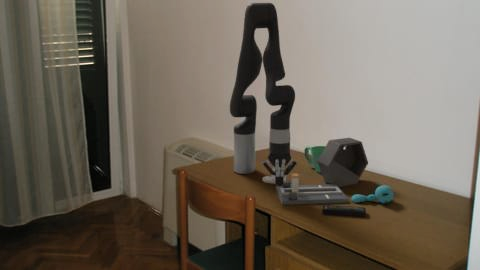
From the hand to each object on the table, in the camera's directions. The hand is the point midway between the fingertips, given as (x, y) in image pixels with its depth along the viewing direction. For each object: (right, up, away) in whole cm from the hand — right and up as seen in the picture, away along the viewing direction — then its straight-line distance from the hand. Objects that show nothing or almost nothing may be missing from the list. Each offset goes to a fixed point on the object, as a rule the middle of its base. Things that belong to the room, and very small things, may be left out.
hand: (279, 185), depth 186 cm
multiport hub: (+21, -9, -14) cm, 27 cm away
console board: (+12, -4, +2) cm, 13 cm away
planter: (+27, -1, +17) cm, 32 cm away
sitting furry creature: (+1, -1, +18) cm, 18 cm away
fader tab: (+6, -2, +1) cm, 7 cm away
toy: (+34, -6, -3) cm, 35 cm away
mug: (+19, +3, +34) cm, 39 cm away
